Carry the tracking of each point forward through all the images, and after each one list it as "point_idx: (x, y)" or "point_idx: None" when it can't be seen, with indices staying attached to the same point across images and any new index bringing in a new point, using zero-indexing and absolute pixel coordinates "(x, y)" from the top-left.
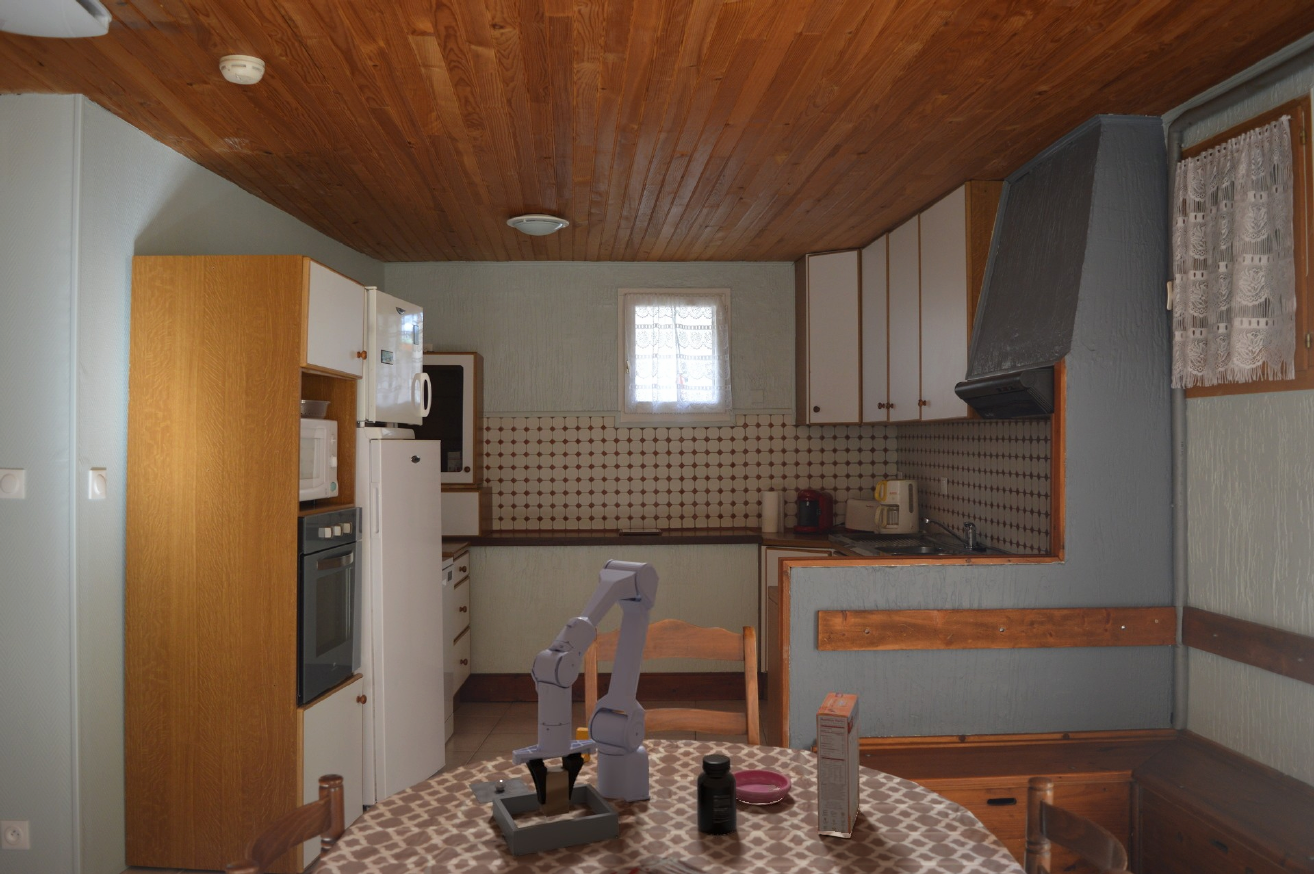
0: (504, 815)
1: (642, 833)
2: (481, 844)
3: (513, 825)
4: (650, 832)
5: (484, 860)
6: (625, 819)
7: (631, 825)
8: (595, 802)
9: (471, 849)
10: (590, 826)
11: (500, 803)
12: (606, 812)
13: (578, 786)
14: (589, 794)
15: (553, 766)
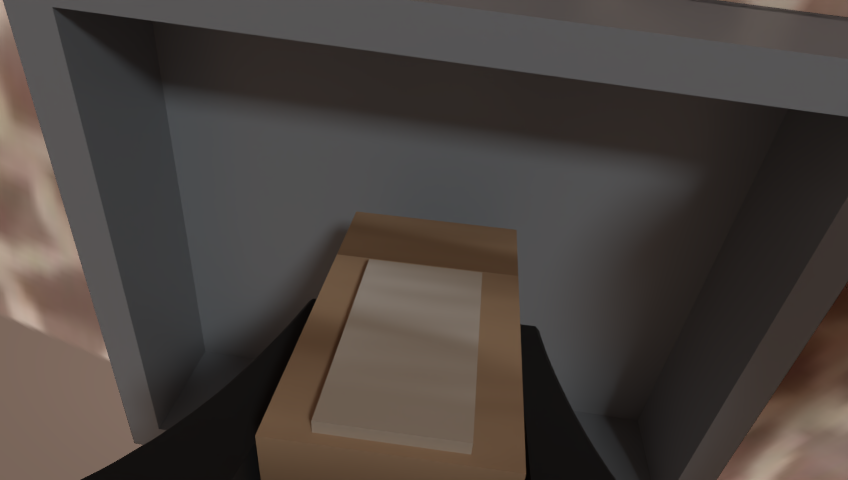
0: (92, 287)
1: (771, 448)
2: (51, 199)
3: (137, 402)
4: (807, 457)
5: (72, 326)
6: (844, 317)
7: (803, 378)
8: (752, 292)
9: (7, 221)
10: None
11: (62, 105)
12: (677, 444)
13: (818, 101)
14: (821, 183)
15: (431, 465)
